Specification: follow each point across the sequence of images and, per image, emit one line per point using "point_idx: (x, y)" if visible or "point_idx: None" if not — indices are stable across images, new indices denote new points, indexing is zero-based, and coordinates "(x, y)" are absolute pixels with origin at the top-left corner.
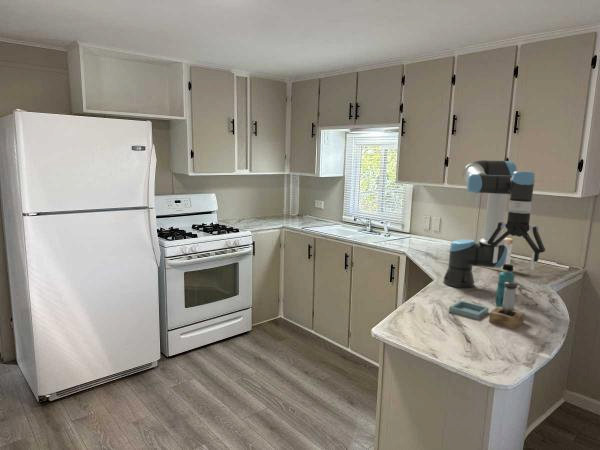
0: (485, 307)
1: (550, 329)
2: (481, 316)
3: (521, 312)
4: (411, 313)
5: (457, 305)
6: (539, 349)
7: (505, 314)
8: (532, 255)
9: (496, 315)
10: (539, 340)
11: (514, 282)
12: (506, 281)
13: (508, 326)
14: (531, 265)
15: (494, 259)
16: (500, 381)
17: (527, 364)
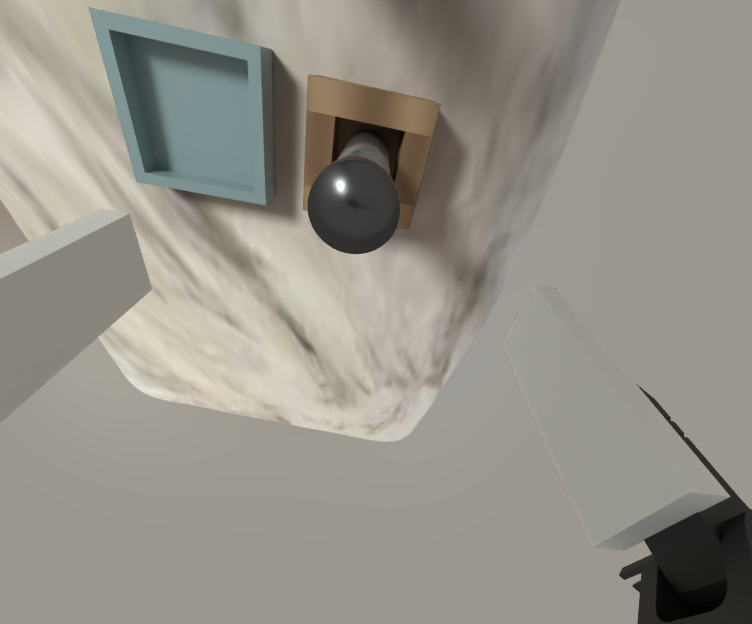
0: (246, 56)
1: (545, 82)
2: (270, 157)
3: (426, 109)
4: None
5: (132, 107)
6: (467, 304)
7: None
8: (579, 501)
9: None
10: (476, 242)
11: (375, 175)
12: (318, 186)
13: None
14: (525, 377)
15: (115, 315)
16: (394, 438)
17: (434, 380)
